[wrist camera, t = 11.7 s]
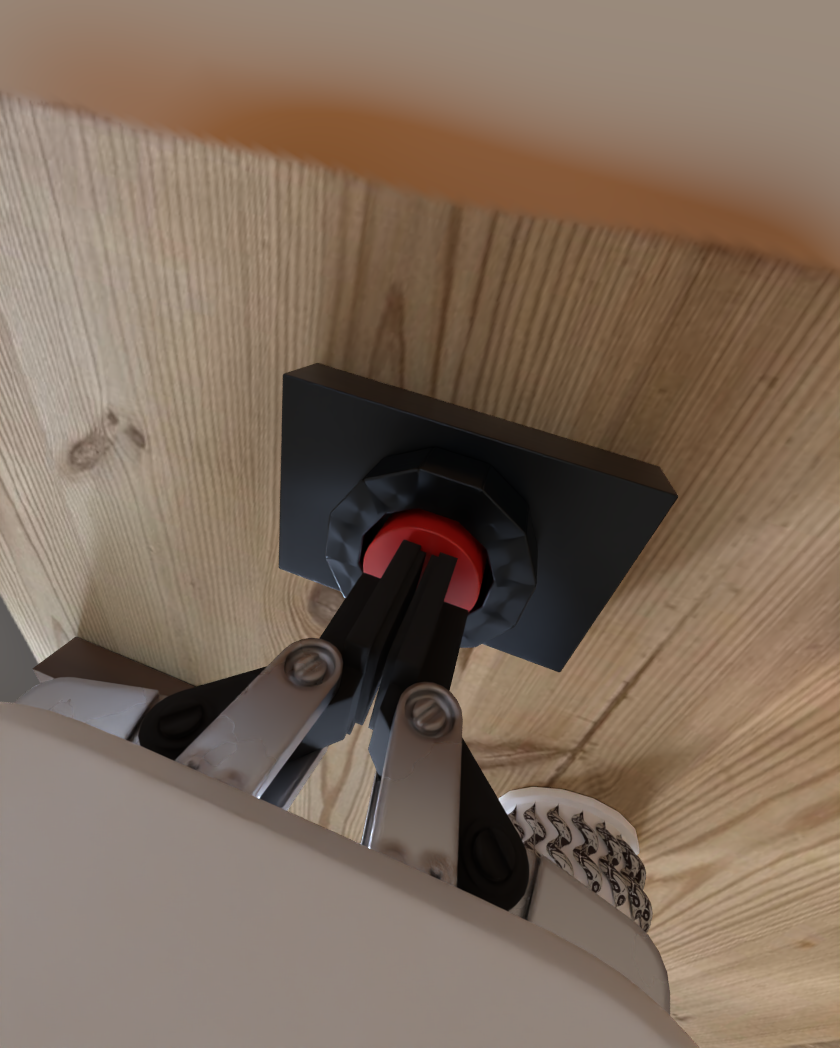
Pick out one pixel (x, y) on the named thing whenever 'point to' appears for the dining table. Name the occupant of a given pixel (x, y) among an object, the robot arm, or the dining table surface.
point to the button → (432, 551)
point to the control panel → (104, 668)
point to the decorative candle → (584, 844)
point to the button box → (463, 504)
